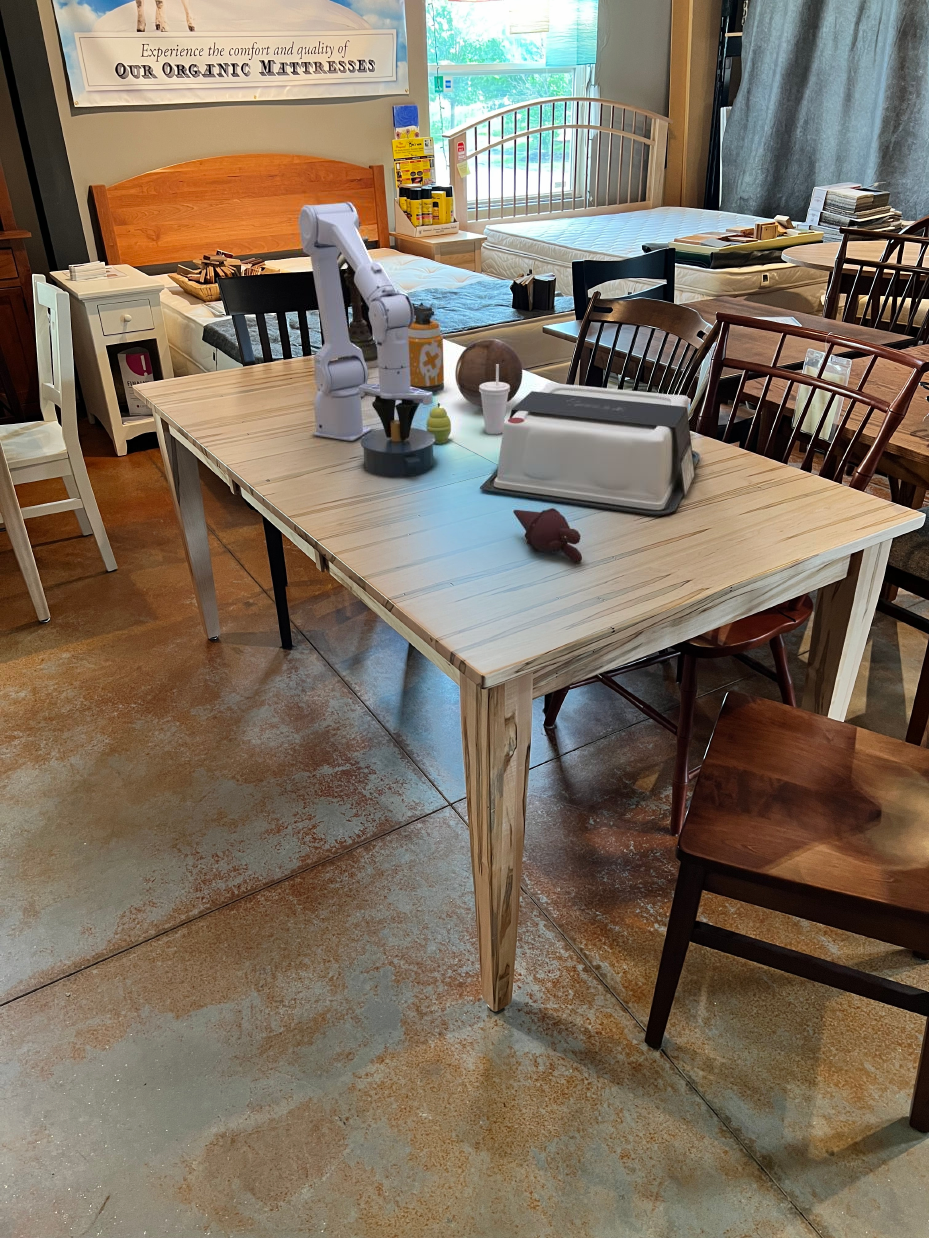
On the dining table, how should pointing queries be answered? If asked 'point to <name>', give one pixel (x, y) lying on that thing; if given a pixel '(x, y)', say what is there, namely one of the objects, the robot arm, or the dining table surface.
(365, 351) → the dark brown tall piece
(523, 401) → the cake box
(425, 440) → the lid
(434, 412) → the pear
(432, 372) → the canister
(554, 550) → the icecream
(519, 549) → the dining table surface
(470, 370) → the wooden sphere
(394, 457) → the pan
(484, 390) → the smoothie
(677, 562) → the dining table surface
